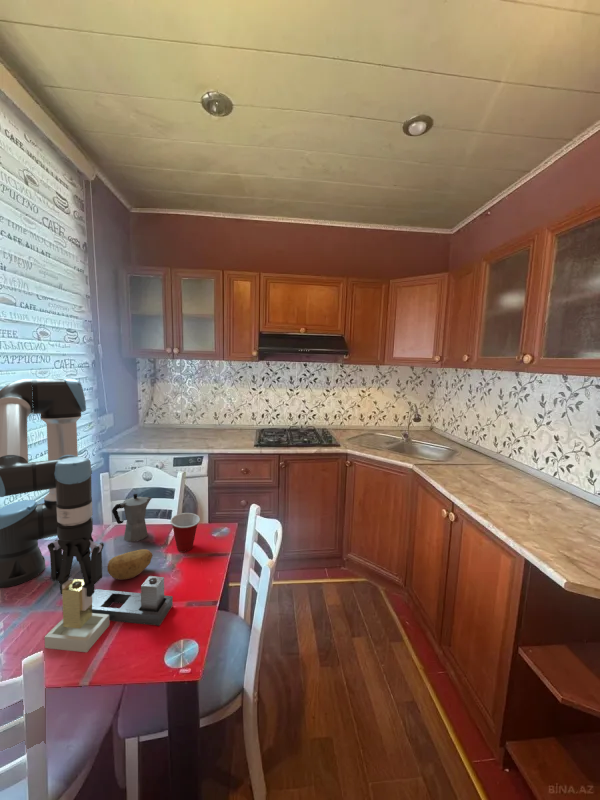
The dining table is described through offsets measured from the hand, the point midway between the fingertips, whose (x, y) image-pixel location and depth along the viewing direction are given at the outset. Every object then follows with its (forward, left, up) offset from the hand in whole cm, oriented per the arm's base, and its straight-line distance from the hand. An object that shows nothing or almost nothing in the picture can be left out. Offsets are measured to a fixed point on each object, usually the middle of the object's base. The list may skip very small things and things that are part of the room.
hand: (77, 605), depth 89 cm
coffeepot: (-14, +50, -9) cm, 53 cm away
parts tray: (0, 0, -9) cm, 9 cm away
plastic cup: (+10, +45, -9) cm, 47 cm away
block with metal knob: (0, 0, -4) cm, 4 cm away
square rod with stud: (+15, +10, -9) cm, 20 cm away
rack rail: (+7, +10, -9) cm, 15 cm away
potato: (-1, +26, -9) cm, 28 cm away
